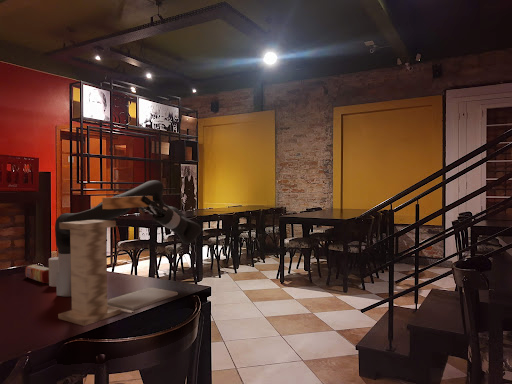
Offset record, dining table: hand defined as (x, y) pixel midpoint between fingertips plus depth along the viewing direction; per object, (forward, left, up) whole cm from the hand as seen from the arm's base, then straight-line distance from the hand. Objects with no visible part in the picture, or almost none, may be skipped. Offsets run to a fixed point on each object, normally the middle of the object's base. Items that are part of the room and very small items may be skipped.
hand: (138, 198), depth 149 cm
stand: (-11, -19, -39) cm, 45 cm away
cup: (-46, +25, -40) cm, 65 cm away
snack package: (-60, +34, -40) cm, 80 cm away
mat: (0, +1, -39) cm, 39 cm away
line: (-6, -11, -39) cm, 41 cm away
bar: (-2, -4, -3) cm, 6 cm away
